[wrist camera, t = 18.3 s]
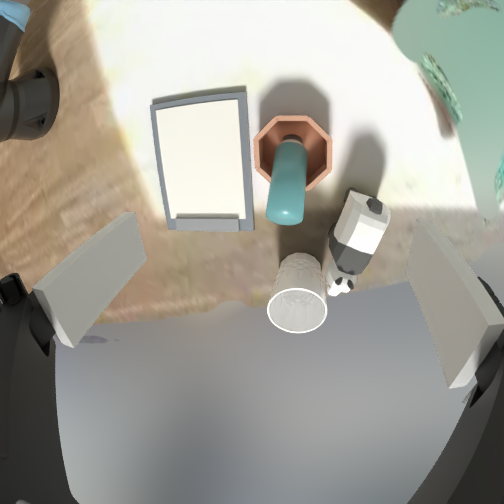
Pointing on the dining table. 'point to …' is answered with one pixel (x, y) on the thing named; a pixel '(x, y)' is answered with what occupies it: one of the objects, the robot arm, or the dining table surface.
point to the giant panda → (354, 239)
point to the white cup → (298, 295)
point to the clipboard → (205, 162)
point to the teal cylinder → (288, 182)
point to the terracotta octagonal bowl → (313, 141)
